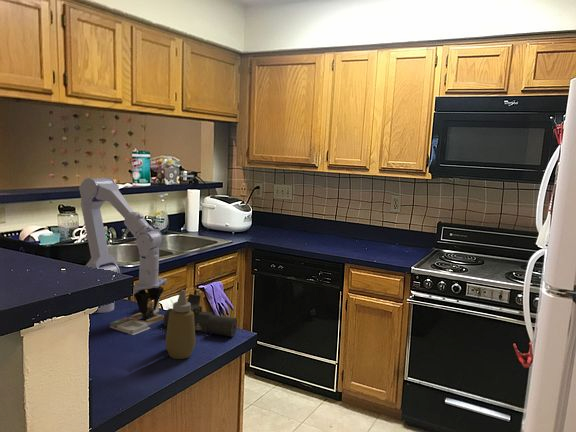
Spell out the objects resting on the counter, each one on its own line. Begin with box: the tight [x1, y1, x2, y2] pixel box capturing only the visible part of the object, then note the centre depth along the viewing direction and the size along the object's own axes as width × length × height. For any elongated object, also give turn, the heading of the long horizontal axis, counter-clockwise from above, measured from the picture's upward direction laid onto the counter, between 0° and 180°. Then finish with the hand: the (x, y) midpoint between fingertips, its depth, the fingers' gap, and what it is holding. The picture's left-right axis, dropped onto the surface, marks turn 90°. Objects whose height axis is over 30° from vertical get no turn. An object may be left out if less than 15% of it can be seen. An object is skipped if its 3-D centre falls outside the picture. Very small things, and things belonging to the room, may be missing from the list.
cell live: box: [141, 298, 154, 320], centre depth 149 cm, size 4×4×6 cm
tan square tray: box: [129, 312, 164, 326], centre depth 150 cm, size 7×8×2 cm
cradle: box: [109, 316, 151, 336], centre depth 142 cm, size 10×7×2 cm
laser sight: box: [162, 293, 238, 337], centre depth 145 cm, size 10×22×10 cm, turn 79°
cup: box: [154, 299, 160, 314], centre depth 158 cm, size 6×6×5 cm
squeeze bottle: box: [164, 289, 197, 360], centre depth 127 cm, size 8×8×18 cm
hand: (147, 311), depth 149 cm, fingers closed on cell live, 3 cm apart
